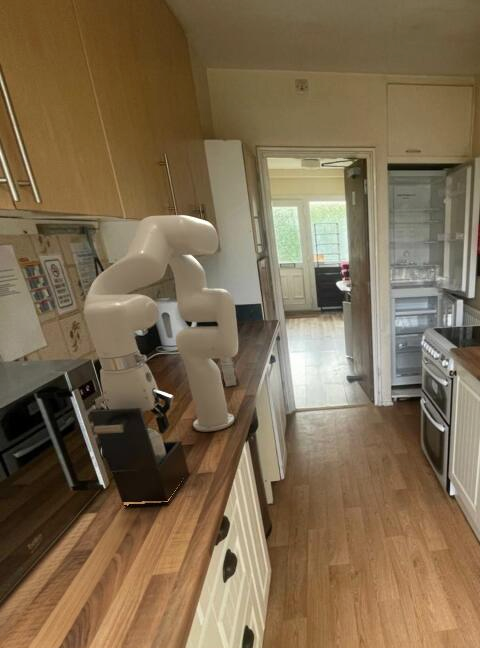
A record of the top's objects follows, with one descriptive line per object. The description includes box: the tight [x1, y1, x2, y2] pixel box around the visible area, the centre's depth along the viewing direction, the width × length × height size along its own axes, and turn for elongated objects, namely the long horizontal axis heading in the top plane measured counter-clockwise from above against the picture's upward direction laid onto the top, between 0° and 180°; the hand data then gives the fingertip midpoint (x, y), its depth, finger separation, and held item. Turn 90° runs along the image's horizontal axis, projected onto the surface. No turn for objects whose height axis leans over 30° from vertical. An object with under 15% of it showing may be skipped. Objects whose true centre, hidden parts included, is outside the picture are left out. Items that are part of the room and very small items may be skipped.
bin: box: [111, 440, 190, 509], centre depth 103 cm, size 14×10×10 cm
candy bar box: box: [218, 357, 238, 388], centre depth 173 cm, size 11×5×16 cm, turn 22°
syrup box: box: [147, 428, 166, 465], centre depth 101 cm, size 6×6×14 cm
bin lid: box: [88, 408, 159, 472], centre depth 89 cm, size 14×10×5 cm
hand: (143, 431), depth 99 cm, fingers open, 9 cm apart
